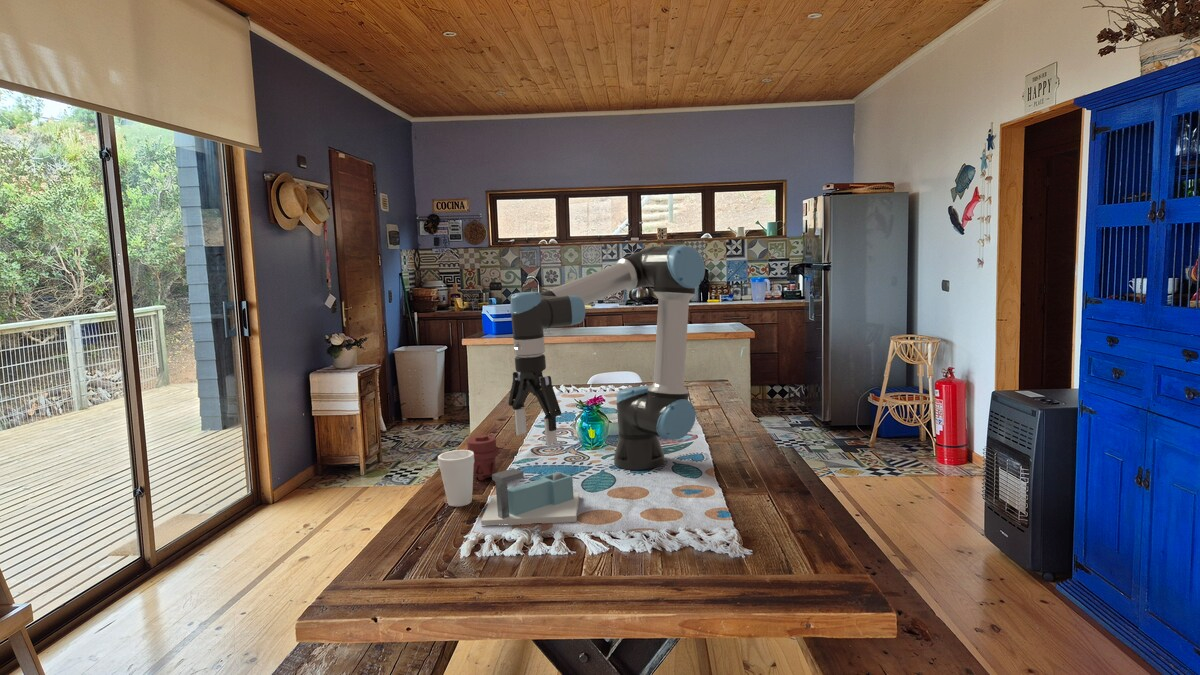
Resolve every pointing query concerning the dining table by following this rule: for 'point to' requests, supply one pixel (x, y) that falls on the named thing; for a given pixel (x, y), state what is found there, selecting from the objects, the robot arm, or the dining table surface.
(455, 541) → the dining table surface
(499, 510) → the block
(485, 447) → the mechanical component
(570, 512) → the board
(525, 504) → the link
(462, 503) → the foam cup
